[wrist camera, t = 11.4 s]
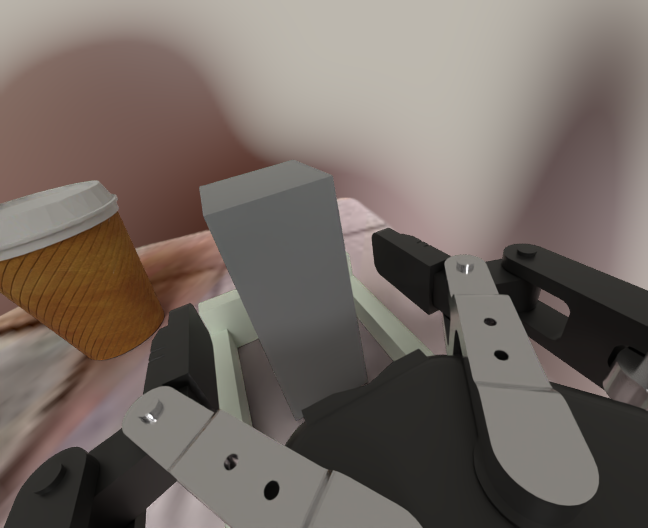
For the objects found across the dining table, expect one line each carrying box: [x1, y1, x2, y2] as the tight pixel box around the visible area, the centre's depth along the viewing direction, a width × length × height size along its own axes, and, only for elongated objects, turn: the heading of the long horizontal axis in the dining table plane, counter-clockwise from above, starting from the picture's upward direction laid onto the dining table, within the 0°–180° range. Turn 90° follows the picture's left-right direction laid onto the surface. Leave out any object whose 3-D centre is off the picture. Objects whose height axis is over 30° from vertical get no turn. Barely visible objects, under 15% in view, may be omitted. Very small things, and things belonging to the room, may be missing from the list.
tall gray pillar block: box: [199, 160, 368, 421], centre depth 14 cm, size 5×4×12 cm
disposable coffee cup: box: [0, 181, 164, 360], centre depth 21 cm, size 10×10×12 cm
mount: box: [198, 252, 434, 528], centre depth 16 cm, size 12×11×4 cm
